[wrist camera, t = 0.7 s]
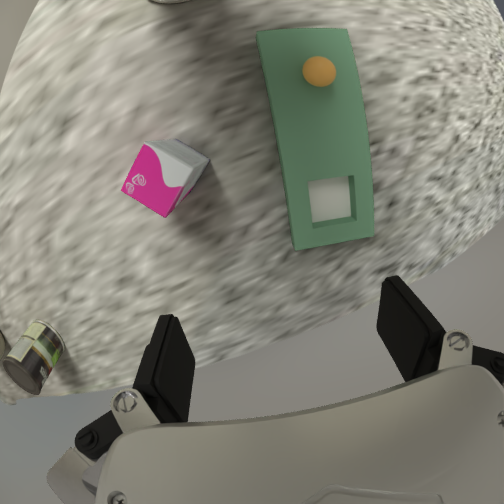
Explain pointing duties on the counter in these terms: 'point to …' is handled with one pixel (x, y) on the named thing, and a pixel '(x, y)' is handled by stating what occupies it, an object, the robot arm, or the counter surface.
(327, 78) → the ball
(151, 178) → the supplement box
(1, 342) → the canister
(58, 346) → the coffee can
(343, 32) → the green
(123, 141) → the counter surface
